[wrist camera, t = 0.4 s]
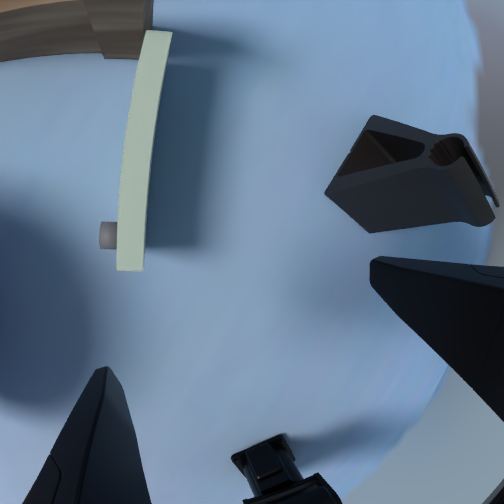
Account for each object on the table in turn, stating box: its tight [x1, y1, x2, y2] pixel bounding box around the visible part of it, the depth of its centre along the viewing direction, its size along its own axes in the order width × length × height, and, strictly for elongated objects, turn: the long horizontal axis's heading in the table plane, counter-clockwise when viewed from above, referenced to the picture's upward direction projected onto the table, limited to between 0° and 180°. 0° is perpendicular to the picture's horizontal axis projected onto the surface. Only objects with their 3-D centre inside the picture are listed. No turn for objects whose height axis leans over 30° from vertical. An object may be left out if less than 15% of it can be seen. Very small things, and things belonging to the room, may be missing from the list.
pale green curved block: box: [99, 30, 173, 271], centre depth 17 cm, size 14×3×5 cm, turn 172°
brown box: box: [0, 0, 154, 62], centre depth 10 cm, size 3×17×10 cm, turn 81°
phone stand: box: [324, 115, 499, 233], centre depth 20 cm, size 9×6×12 cm, turn 143°
